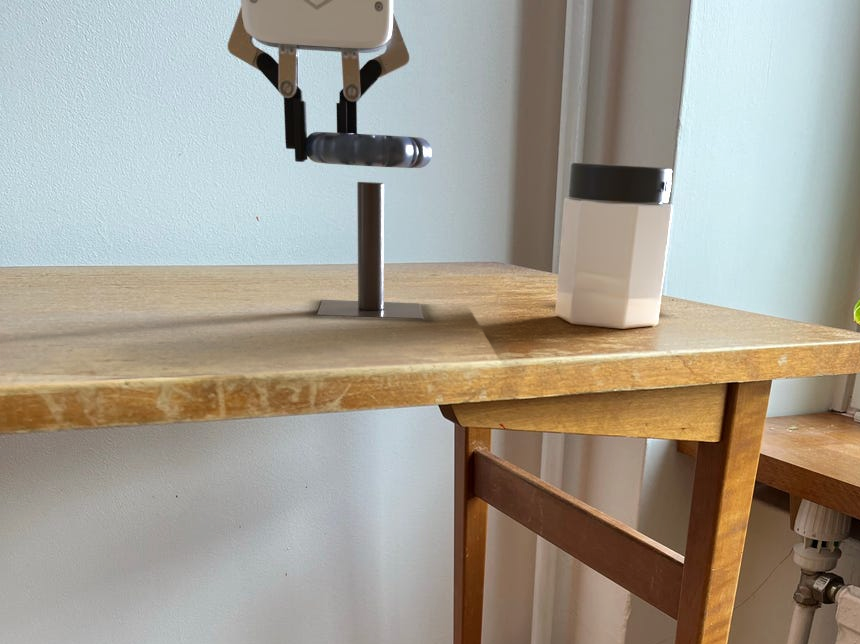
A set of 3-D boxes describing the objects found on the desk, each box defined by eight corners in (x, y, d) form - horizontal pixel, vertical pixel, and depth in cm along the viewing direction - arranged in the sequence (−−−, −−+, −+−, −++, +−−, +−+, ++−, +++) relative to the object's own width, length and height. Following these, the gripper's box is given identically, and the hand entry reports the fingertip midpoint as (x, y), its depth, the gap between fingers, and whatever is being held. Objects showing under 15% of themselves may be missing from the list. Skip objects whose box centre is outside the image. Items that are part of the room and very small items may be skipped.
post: (317, 328, 73) (313, 181, 69) (322, 312, 80) (319, 178, 76) (423, 332, 74) (427, 187, 70) (419, 315, 81) (422, 183, 77)
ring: (301, 163, 68) (300, 130, 67) (309, 160, 76) (308, 131, 75) (434, 169, 69) (435, 138, 68) (427, 167, 77) (428, 138, 76)
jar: (670, 330, 81) (691, 169, 76) (576, 328, 79) (591, 164, 74) (632, 313, 89) (649, 166, 83) (546, 311, 87) (557, 161, 82)
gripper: (177, -180, 60) (202, 157, 68) (441, -157, 61) (434, 169, 69) (197, -147, 66) (217, 156, 74) (435, -128, 68) (429, 166, 76)
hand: (322, 159), depth 72 cm, fingers closed on ring, 2 cm apart
